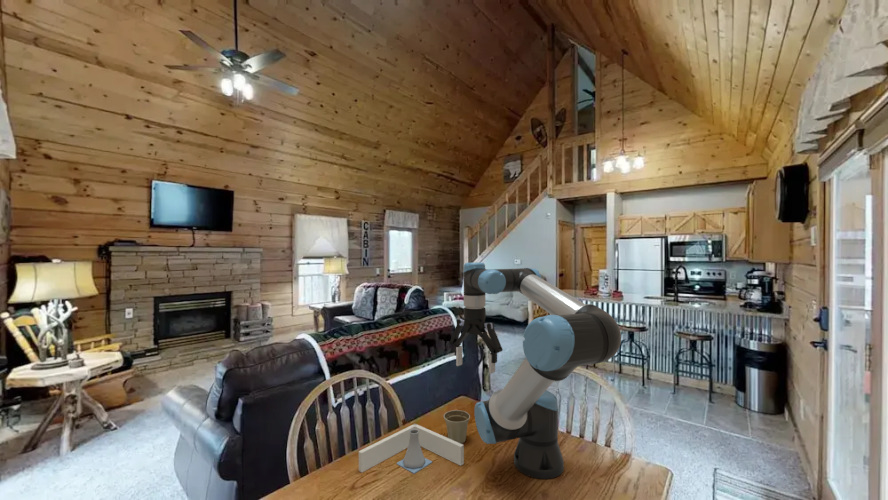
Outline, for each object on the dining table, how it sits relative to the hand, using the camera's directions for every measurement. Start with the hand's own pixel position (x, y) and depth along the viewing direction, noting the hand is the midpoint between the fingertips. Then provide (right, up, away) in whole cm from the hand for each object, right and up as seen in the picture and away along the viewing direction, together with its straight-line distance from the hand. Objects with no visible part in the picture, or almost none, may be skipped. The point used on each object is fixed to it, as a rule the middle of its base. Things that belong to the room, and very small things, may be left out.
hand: (475, 368), depth 130 cm
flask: (-20, -26, -11) cm, 35 cm away
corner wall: (-21, -27, -13) cm, 36 cm away
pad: (-20, -27, -11) cm, 35 cm away
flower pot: (-6, -27, +4) cm, 28 cm away
